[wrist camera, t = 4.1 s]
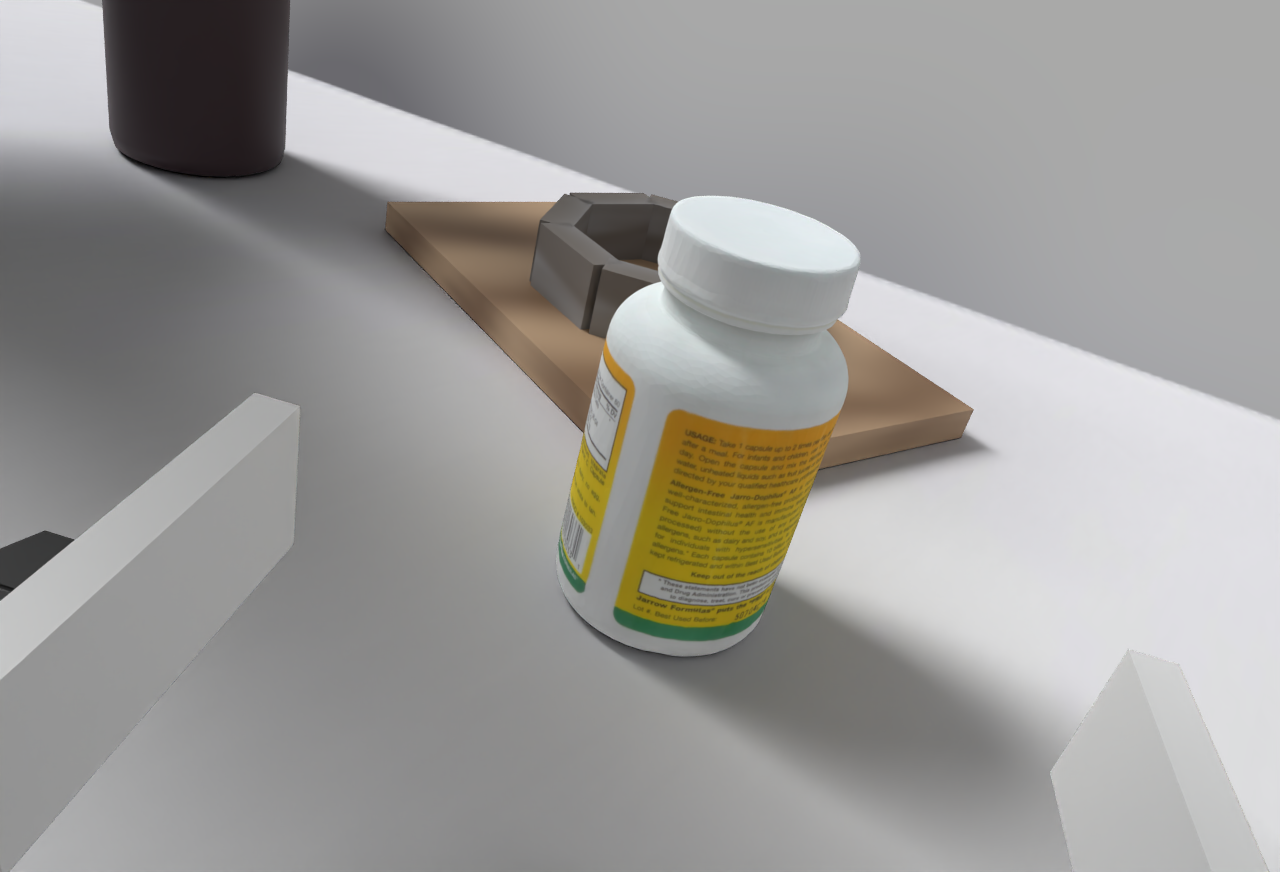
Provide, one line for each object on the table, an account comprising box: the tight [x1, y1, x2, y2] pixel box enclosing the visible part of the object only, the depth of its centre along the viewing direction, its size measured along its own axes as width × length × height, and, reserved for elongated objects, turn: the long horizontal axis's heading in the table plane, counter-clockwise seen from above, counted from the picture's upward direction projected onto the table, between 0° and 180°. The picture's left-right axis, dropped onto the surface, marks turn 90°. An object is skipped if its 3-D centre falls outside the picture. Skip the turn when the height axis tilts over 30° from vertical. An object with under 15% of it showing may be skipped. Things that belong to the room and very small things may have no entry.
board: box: [385, 193, 974, 469], centre depth 37 cm, size 20×14×4 cm
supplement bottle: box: [556, 196, 861, 656], centre depth 22 cm, size 5×5×10 cm
